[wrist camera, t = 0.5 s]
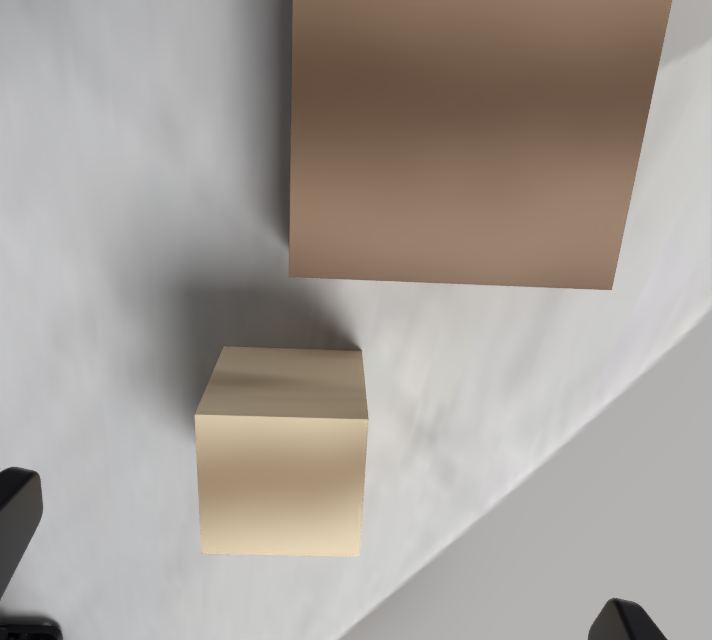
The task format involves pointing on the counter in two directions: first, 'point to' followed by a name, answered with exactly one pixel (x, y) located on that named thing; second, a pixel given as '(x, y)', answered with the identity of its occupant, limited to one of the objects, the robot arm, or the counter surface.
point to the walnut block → (468, 138)
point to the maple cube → (282, 452)
